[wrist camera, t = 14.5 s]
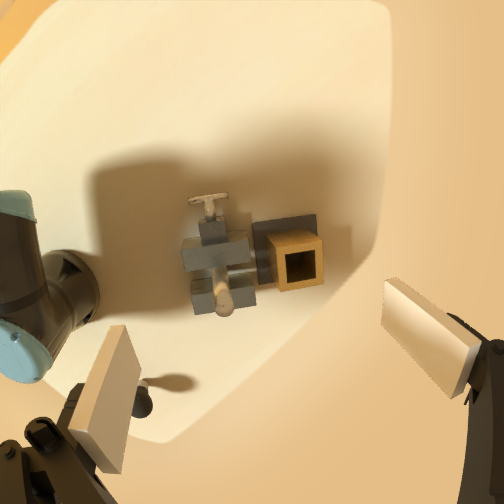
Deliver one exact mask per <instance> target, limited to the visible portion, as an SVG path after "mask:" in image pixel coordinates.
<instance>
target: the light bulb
mask: <svg viewBox="0 0 504 504" xmlns="http://www.w3.org/2000/svg"><path fill="white" fill-rule="evenodd" d="M152 408H153V403H152V400H151V398H150V396H149V394H148V383H147V382H146V381H144V380H140V381H138V386H137V390H136V395H135V399H134V404H133V409H132V414H131V416H133V417H135V418H145V417H147V416H148V415H149V414H150V413H151V411H152Z"/></svg>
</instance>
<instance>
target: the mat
mask: <svg viewBox="0 0 504 504" xmlns="http://www.w3.org/2000/svg"><path fill="white" fill-rule="evenodd" d="M252 228H253V237H254V246H255V254H256V263H257V272H258V280H259V285H261V284H267V283H273V282H274V280H273V278H272V277H271V275H270V273H269V265H268V255H267V245H266V236H265V234H268V233H275V232H281V231H288V230H295V229H302V228H306V229H307V230H309V231H310V232H311V233H313V234H314V235H315V236H317V225H316V215H315V214H314V215H306V216H298V217H291V218H283V219H276V220H269V221H262V222H255V223H252ZM297 261H301V255H300V252H297V253H291V254H285V263H291V262H297Z"/></svg>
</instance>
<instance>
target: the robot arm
mask: <svg viewBox="0 0 504 504" xmlns="http://www.w3.org/2000/svg"><path fill="white" fill-rule="evenodd" d="M36 223H37V220H36V218H35V216H34V210H33V204H32V199H31V196H30V195H29V194H28V193H27V192H26V191H23V190H5V191H0V373H2V374H3V375H4V376H6V377H7V378H9V379H11V380H14V381H16V382H19V383H24V384H31V383H36V382H38V381H39V380H41V379H42V378H43V376H44V375H45V374H46V372H47V371H48V370H49V369H50V368H51V367H52V365H53V362H54V361H55V359H56V357H57V355H58V354H59V352H60V350H61V348H62V347H63V345H64V343H65V342H66V340H67V338H68V337H69V335H70V333H71V332H73V331H75V330H76V329H78V328H80V327H82V326H84V325H85V324H87V323H88V322H89V321H90V320H91V318H92V317H93V315H94V313H95V312H96V310H97V307H98V304H99V289H98V284H97V281H96V279H95V277H94V275H93V273H92V271H91V270H90V269H89V267H88V266H87V265H86V264H85V263H84V262H83V261H82V260H81V259H80V258H78V257H77V256H75V255H73V254H71V253H69V252H66V251H58V250H57V251H51V252H48V253H46V254H44V255H43V256H42V257H41V253H40V248H39V242H38V236H37V230H36ZM381 325H382V326H383V327H384V328H385V330H387V332H388V333H389V334H390V335H391V336H392V337H393V338H394V339H395V340H396V341H397V342H398V343H399V344H400V345H401V346H402V347H403V348H404V349H405V350H406V351H407V353H408V354H409V355H410V356H411V357H412V358H413V359H414V360H415V361H416V362H417V363H418V364H419V365H420V366H421V368H422V369H423V370H424V371H425V372H426V373H427V374H428V375H429V376H430V377H431V378H432V379H433V380H434V382H435V383H436V384H437V385H438V386H439V387H440V388H441V389H442V391H443V392H444V393H445V394H446V395H447V396H448V397H449V398H450V399H452V398H454V397H456V396H458V395H459V394H461V393H463V391H464V388H465V386H466V384H467V382H468V383H469V384H470V385H471V388H470V391H469V393H468V395H467V397H466V400H465V403H464V405H466V404H467V402H468V400H469V416H468V433H467V445H466V453H465V462H464V468H463V475H462V481H461V487H460V492H459V497H458V501H457V504H504V341H503V340H499V339H494V340H491V341H489V340H487V339H486V338H485V337H483V336H482V335H481V334H480V333H479V332H477V331H476V330H475V329H473V328H472V327H470V326H469V325H468V324H467V323H464V321H463V320H461V319H460V318H459V317H457V316H455V315H453V314H450V313H445V312H443V311H442V310H441V309H439V308H438V307H437V306H435V305H434V304H433V303H431V302H430V301H429V300H427V299H426V298H425V297H423V296H422V295H420V294H419V293H418V292H416V291H415V290H413V289H412V288H411V287H409V286H408V285H406V284H405V283H404V282H402V281H401V280H400V279H398V278H393V279H388V280H385V285H384V298H383V309H382V319H381ZM140 373H141V367H140V364H139V362H138V359H137V357H136V354H135V351H134V349H133V346H132V343H131V340H130V338H129V335H128V332H127V329H126V326H125V325H118V326H111V327H110V329H109V331H108V333H107V336H106V338H105V340H104V342H103V344H102V346H101V349H100V351H99V353H98V355H97V357H96V360H95V362H94V364H93V367H92V369H91V371H90V373H89V376H88V378H87V381H86V383H78V384H77V385H76V386H75V387H74V388H73V389H72V390H71V391H70V393H69V395H68V398H67V402H65V405H64V409H62V412H61V415H60V417H59V419H58V422H57V424H56V425H55V424H54V422H53V421H52V420H51V419H50V418H47V417H38V418H35V419H34V420H32V421H31V422H29V424H28V425H27V426H26V429H25V431H24V435H25V438H26V439H27V440H28V442H29V443H30V444H31V445H32V447H26V448H22V447H21V446H20V444H19V443H18V442H17V441H15V440H6V441H4V442H2V444H0V504H61V503H62V504H118V503H117V502H116V501H115V499H114V498H113V497H112V495H111V494H110V493H109V492H108V490H107V489H106V487H105V486H104V485H103V483H102V482H101V480H100V479H99V478H98V476H97V475H96V474H95V469H96V465H97V467H98V468H99V469H100V470H101V471H102V472H103V473H110V474H121V470H122V463H123V457H124V452H125V446H126V440H127V435H128V429H129V424H130V419H131V414H132V409H133V404H134V399H135V395H136V390H137V386H138V381H139V377H140Z"/></svg>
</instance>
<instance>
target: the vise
mask: <svg viewBox="0 0 504 504" xmlns="http://www.w3.org/2000/svg"><path fill="white" fill-rule="evenodd" d="M222 199H228V192H224V193H217V194H211V195H204V196H197V197H191V198H188V202H189V204H195V203H202V202H203V203H204V210H205V216H206V219H202V220H199V223H198V225H199V231H200V237H195V238H188V239H184V241H183V245H182V249H181V251H182V256H183V261H184V266H185V271H186V272H189V271H195V270H202V269H208V268H212V278H206V279H199V280H193V281H192V285H191V300H192V304H193V309H194V313H195V315H199V314H206V313H212V312H216V314H217V315H219V316H221V317H227V316H230V315H231V314H232V313H233V311H234V309H238V308H244V307H250V306H256V297H255V288H254V284H253V281H252V279H251V276H250V273H249V272H244V273H238V274H232V275H227V269H226V266H228V265H234V264H240V263H247V262H251V255H250V247H249V239H248V237H247V236H246V234H245V232H244V230H240V231H234V232H227V233H226V225H225V219H224V216H222V217H216V212H215V205H214V201H215V200H222Z"/></svg>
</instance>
